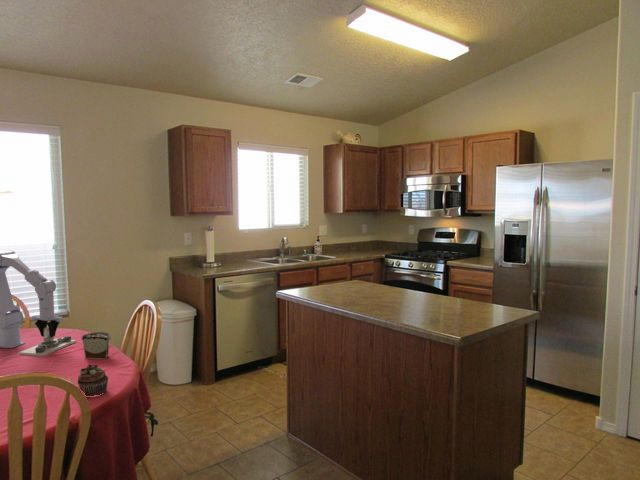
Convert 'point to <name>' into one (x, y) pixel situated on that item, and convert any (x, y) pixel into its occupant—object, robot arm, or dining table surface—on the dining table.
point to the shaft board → (33, 351)
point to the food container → (96, 345)
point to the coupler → (47, 334)
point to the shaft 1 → (41, 348)
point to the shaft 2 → (64, 339)
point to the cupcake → (92, 380)
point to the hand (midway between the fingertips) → (48, 336)
